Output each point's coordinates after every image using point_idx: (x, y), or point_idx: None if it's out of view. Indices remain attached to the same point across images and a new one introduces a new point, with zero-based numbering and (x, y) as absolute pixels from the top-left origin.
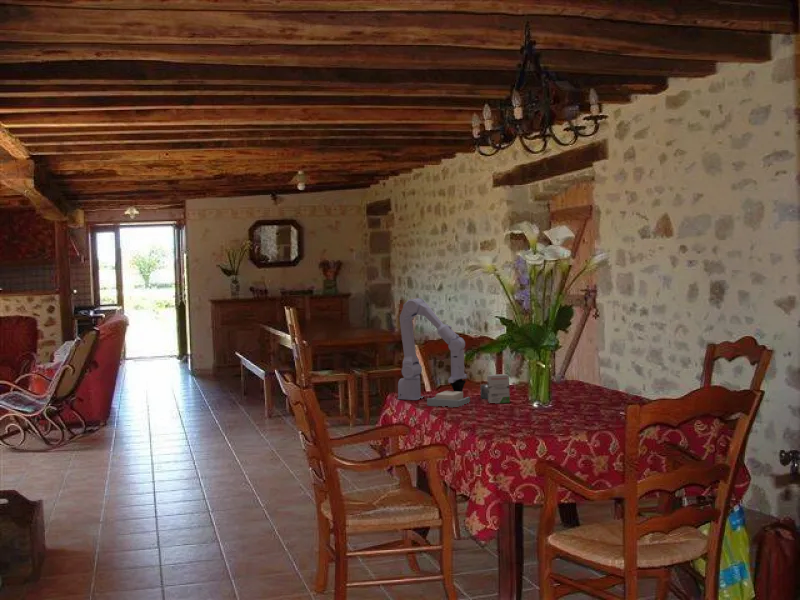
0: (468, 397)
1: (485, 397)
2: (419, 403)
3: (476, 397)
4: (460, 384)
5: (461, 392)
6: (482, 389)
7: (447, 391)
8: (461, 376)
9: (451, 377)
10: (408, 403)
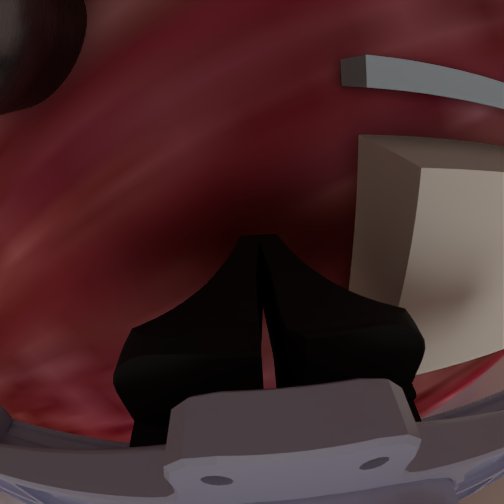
0: (408, 61)
1: (73, 6)
2: (430, 385)
3: (21, 176)
4: (397, 311)
5: (467, 169)
6: (13, 34)
7: (427, 348)
8: (420, 491)
9: (489, 482)
10: (429, 412)
